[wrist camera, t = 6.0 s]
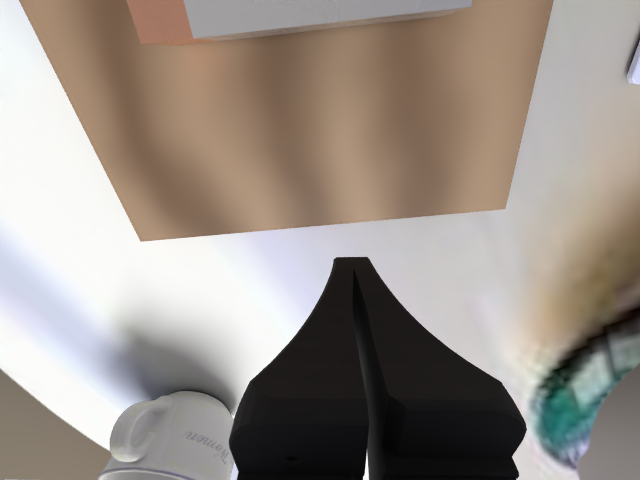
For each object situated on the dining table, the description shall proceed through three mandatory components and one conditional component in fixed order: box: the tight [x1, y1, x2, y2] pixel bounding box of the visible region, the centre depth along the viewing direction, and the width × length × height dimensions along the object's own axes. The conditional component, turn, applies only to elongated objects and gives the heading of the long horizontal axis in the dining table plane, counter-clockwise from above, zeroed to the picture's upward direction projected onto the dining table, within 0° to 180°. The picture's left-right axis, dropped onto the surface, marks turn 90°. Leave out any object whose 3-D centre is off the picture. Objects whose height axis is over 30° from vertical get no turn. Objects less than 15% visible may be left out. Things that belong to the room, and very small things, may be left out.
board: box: [19, 0, 553, 241], centre depth 14 cm, size 23×20×1 cm
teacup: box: [97, 391, 234, 480], centre depth 28 cm, size 14×11×8 cm
